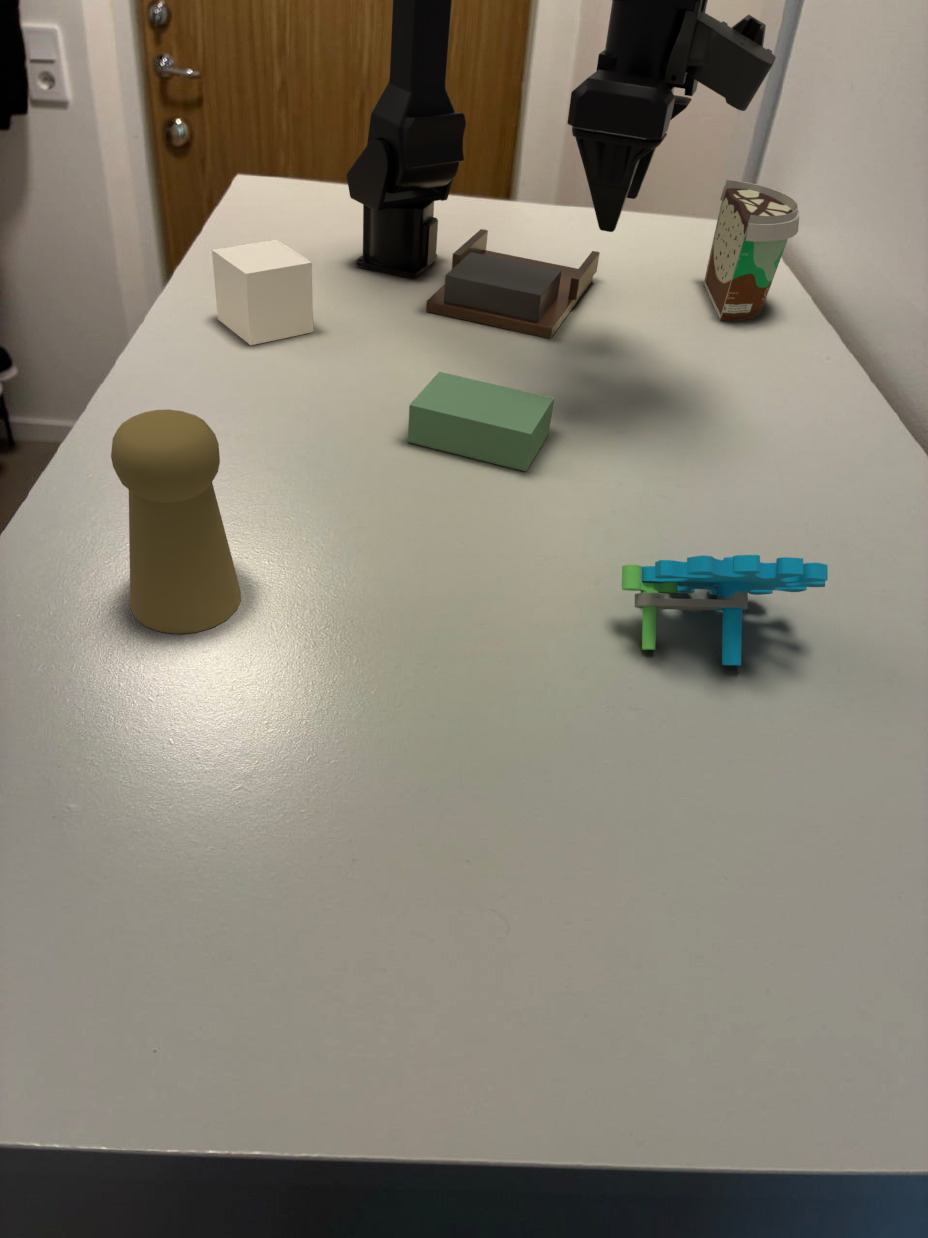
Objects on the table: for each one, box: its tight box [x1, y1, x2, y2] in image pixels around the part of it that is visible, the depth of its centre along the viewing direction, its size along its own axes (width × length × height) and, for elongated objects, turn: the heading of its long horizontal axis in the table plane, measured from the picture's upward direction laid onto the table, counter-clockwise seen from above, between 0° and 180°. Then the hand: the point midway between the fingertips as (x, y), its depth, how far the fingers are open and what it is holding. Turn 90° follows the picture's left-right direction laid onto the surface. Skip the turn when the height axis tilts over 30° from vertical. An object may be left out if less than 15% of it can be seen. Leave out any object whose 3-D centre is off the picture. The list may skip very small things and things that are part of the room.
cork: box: [110, 409, 242, 635], centre depth 50 cm, size 6×6×11 cm
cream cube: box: [211, 239, 314, 346], centre depth 80 cm, size 6×6×6 cm
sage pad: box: [407, 371, 555, 472], centre depth 69 cm, size 6×9×3 cm, turn 71°
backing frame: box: [425, 228, 601, 339], centre depth 91 cm, size 16×13×4 cm
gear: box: [621, 554, 829, 667], centre depth 52 cm, size 11×6×10 cm
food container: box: [703, 179, 800, 322], centre depth 92 cm, size 12×6×10 cm, turn 179°
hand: (618, 213), depth 72 cm, fingers open, 9 cm apart
